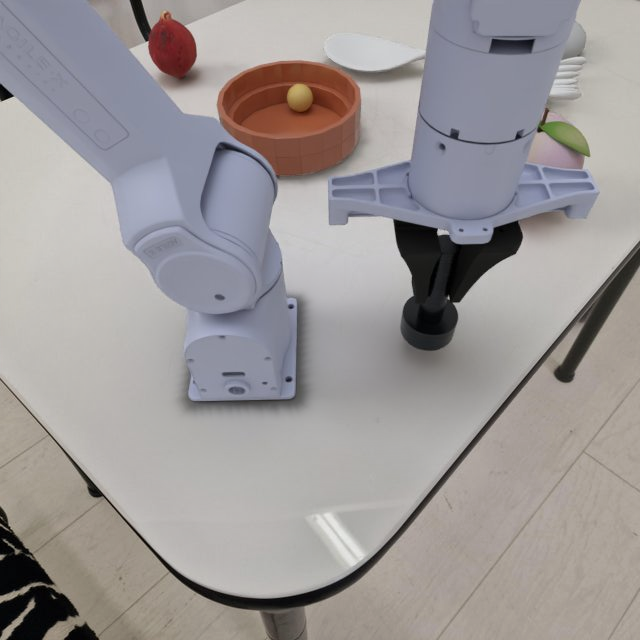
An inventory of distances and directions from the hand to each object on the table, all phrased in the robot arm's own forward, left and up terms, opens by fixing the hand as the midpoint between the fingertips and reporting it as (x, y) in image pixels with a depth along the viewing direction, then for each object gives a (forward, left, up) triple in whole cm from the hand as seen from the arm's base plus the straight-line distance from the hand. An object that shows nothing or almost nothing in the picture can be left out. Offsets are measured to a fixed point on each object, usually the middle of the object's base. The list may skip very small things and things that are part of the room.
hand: (435, 292), depth 35 cm
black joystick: (0, 0, -4) cm, 4 cm away
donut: (+47, -22, -7) cm, 52 cm away
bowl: (+29, +11, -7) cm, 32 cm away
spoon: (+41, -8, -7) cm, 42 cm away
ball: (+34, +10, -5) cm, 35 cm away
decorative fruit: (+17, -11, -7) cm, 22 cm away
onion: (+43, +26, -7) cm, 51 cm away
